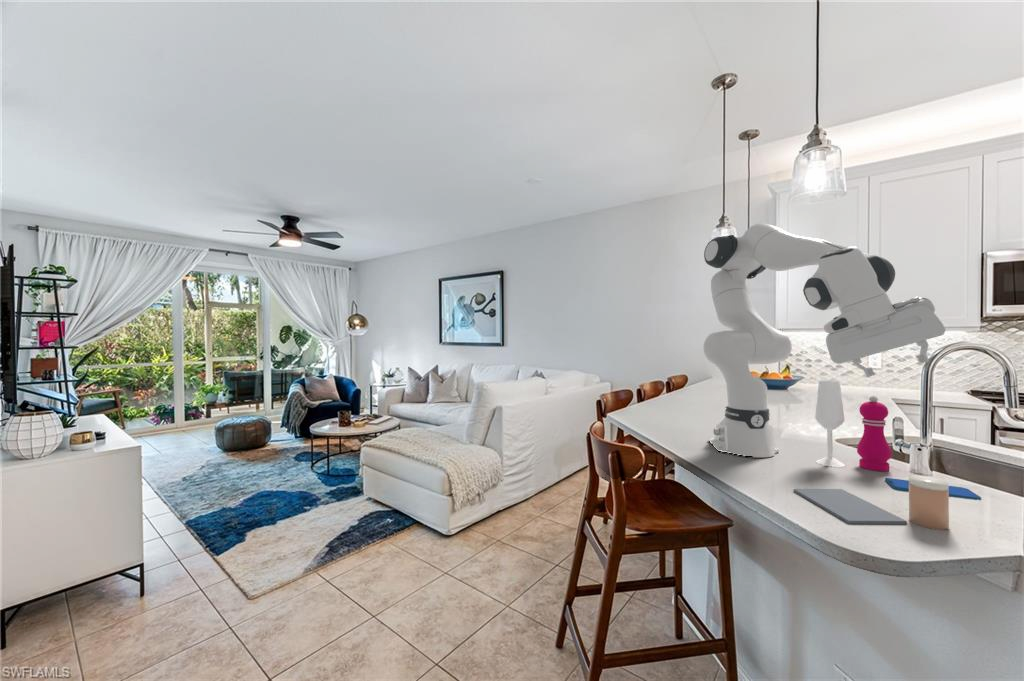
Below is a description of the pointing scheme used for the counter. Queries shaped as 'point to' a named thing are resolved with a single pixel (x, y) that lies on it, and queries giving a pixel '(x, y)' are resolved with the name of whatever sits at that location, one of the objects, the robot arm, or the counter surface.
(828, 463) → the champagne flute
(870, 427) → the pepper mill
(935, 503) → the terracotta jar
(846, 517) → the slate mat
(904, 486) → the smartphone
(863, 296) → the robot arm
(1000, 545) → the counter surface
